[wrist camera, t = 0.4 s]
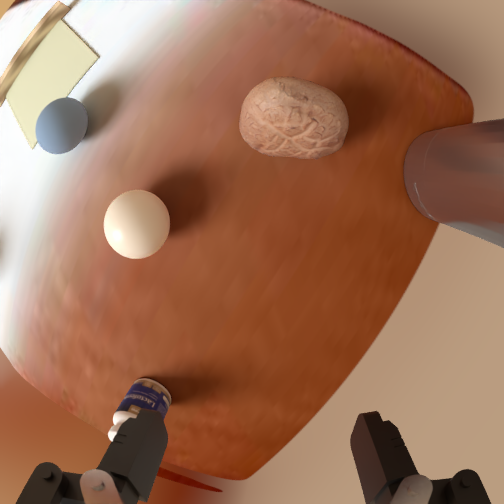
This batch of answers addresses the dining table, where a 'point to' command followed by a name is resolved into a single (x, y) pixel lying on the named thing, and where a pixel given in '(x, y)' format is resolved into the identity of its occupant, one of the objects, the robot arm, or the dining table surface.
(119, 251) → the cue ball
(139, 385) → the pill bottle
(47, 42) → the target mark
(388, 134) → the dining table surface
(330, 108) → the mushroom
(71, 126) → the blue ball
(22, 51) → the stopper strip
